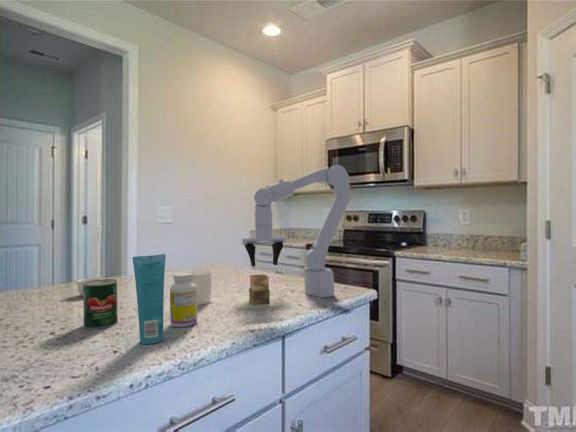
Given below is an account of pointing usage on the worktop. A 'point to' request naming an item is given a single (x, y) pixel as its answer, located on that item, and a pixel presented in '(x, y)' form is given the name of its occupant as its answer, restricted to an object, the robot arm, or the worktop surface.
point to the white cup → (202, 285)
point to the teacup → (80, 282)
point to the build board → (248, 305)
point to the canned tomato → (100, 303)
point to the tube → (150, 296)
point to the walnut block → (259, 297)
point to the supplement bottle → (183, 301)
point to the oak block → (259, 282)
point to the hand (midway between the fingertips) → (264, 265)
